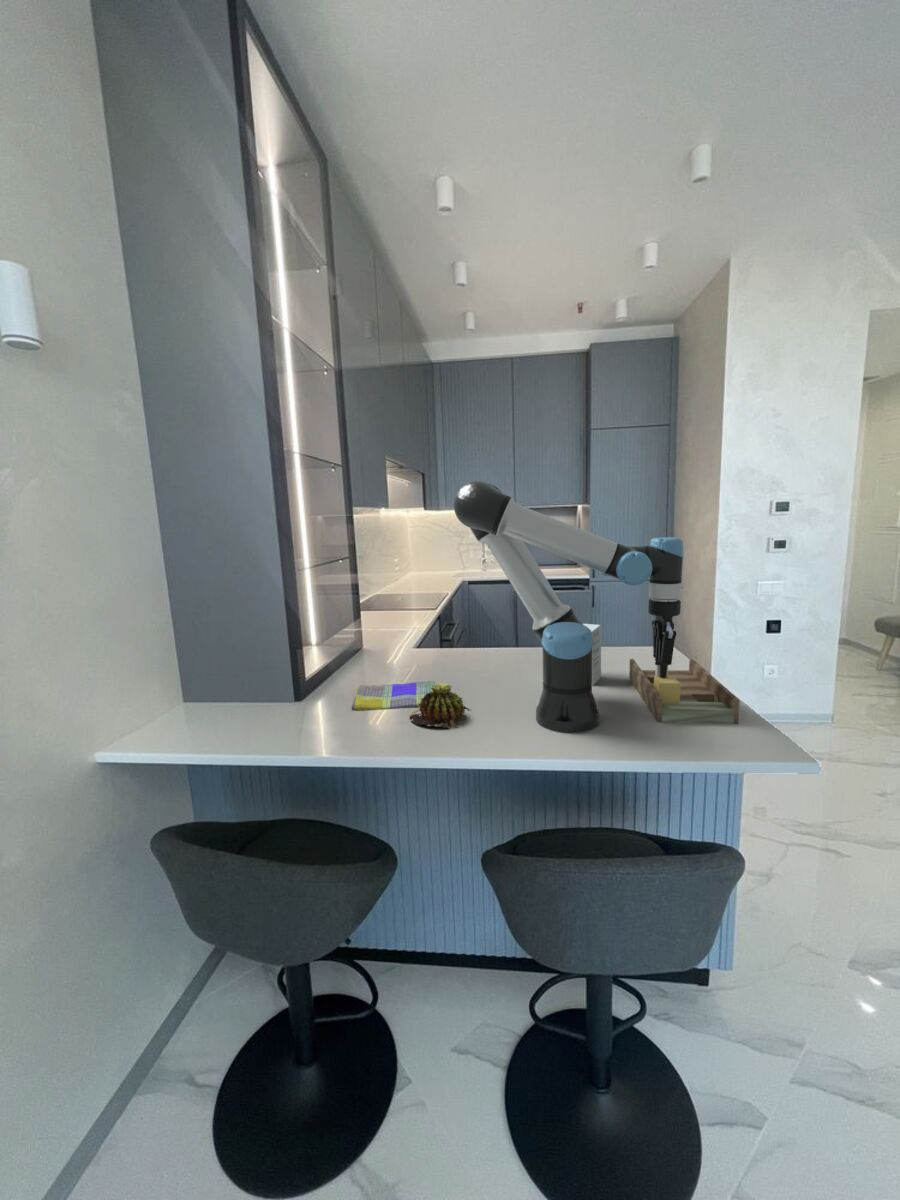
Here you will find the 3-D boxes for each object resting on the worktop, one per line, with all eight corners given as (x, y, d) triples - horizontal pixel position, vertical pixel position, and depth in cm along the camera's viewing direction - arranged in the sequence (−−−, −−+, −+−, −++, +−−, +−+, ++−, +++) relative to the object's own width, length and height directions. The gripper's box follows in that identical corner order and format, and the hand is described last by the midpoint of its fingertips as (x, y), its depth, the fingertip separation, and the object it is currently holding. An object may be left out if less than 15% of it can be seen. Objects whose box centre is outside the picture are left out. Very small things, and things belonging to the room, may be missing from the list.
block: (679, 702, 125) (680, 683, 124) (658, 702, 126) (659, 683, 125) (673, 695, 130) (674, 676, 129) (653, 695, 131) (654, 676, 130)
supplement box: (601, 677, 155) (602, 624, 152) (593, 687, 147) (593, 631, 144) (571, 673, 160) (571, 622, 157) (561, 682, 152) (561, 628, 149)
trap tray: (737, 726, 118) (739, 700, 116) (657, 724, 120) (658, 698, 119) (692, 680, 150) (693, 659, 149) (629, 679, 152) (629, 658, 151)
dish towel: (438, 710, 136) (438, 700, 135) (348, 713, 135) (347, 704, 135) (438, 687, 153) (438, 679, 152) (358, 691, 153) (358, 682, 152)
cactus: (482, 709, 134) (481, 674, 133) (468, 735, 119) (466, 696, 117) (421, 705, 139) (419, 671, 137) (400, 729, 124) (398, 691, 122)
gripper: (689, 603, 120) (684, 697, 124) (672, 594, 133) (668, 679, 137) (656, 603, 121) (652, 696, 125) (642, 594, 134) (639, 679, 138)
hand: (661, 687), depth 131 cm, fingers closed
